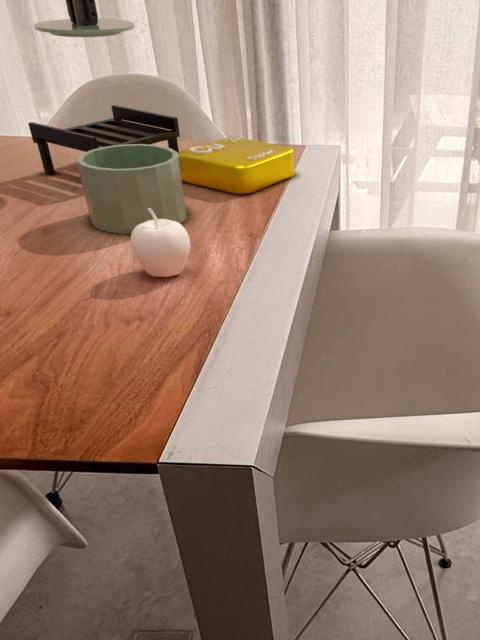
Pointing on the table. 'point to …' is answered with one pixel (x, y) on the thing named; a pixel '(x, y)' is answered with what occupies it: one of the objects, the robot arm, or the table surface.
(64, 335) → the table surface
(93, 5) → the robot arm
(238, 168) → the element tile
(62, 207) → the table surface
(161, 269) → the apple
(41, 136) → the rack
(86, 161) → the pot
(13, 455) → the table surface
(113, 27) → the lid
